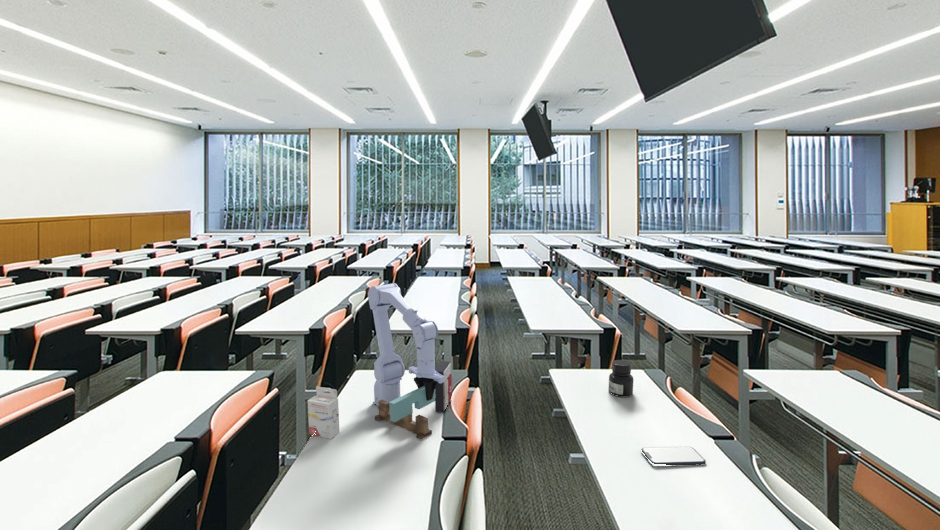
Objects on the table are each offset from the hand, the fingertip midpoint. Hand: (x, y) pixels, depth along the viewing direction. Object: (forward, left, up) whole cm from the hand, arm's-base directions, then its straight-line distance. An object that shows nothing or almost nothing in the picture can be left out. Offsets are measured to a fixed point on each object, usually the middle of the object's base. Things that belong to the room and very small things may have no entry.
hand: (426, 398), depth 162 cm
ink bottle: (+39, +65, -9) cm, 77 cm away
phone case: (+70, +30, -10) cm, 77 cm away
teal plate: (0, -6, -2) cm, 6 cm away
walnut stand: (-6, -6, -9) cm, 12 cm away
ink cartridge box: (-22, -25, -10) cm, 34 cm away
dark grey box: (-6, +14, -9) cm, 18 cm away
